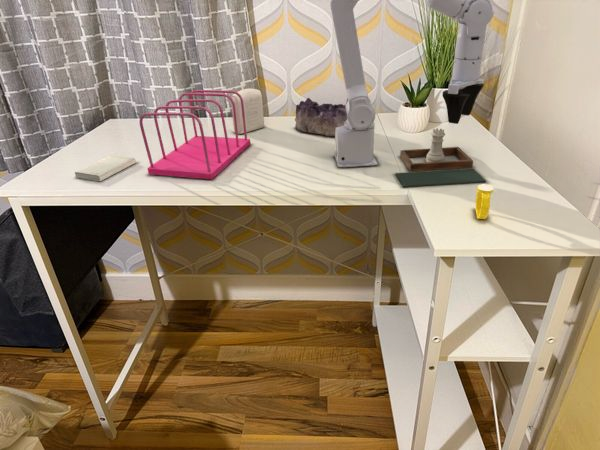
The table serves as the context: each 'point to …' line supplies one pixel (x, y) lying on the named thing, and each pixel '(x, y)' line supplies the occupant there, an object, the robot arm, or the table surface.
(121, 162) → the hard drive
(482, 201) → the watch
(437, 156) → the rook chess piece
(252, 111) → the white rounded block
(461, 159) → the desk tray
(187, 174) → the file sorter
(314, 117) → the geode
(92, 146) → the table surface
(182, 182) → the table surface
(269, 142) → the table surface
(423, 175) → the desk mat
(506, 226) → the table surface
